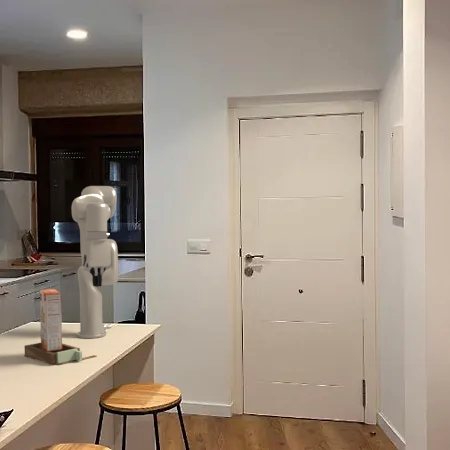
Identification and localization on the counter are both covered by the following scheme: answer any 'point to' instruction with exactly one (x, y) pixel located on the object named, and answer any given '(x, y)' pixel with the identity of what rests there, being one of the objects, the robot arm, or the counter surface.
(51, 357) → the box
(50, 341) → the cracker box
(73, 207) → the robot arm
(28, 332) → the counter surface
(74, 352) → the pale green l-shaped block
